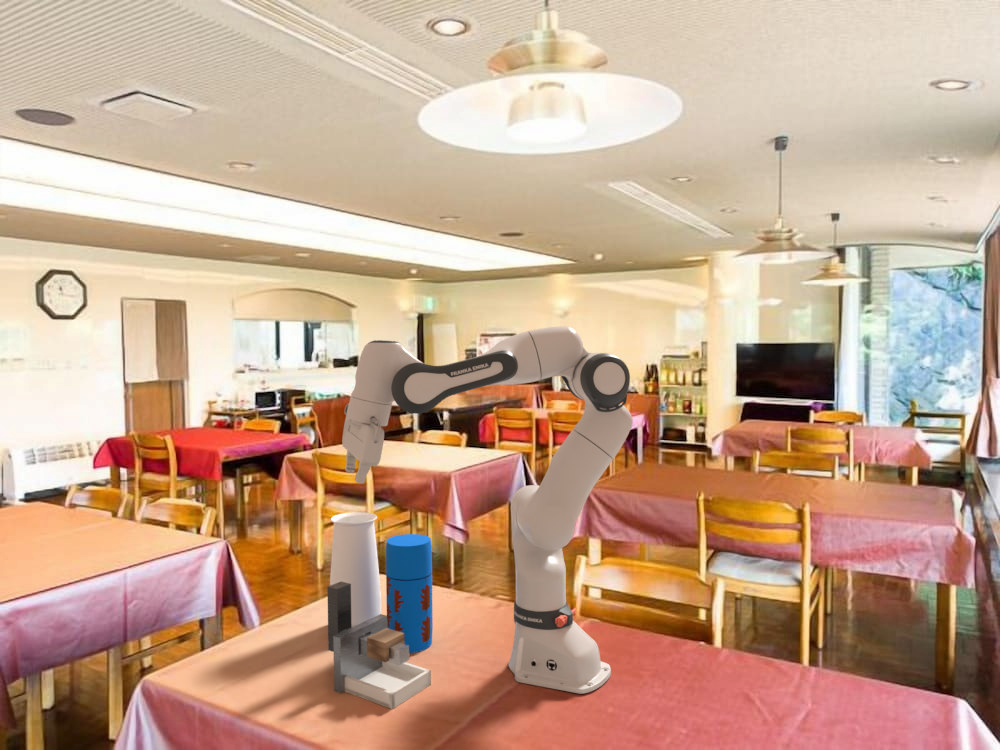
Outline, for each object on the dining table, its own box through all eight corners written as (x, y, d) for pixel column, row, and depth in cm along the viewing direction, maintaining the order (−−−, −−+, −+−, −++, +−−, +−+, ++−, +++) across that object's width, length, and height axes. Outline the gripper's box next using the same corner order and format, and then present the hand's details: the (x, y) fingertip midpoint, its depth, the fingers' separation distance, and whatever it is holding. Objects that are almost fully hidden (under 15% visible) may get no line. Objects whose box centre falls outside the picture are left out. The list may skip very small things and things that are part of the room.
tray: (430, 684, 148) (430, 670, 148) (392, 709, 138) (391, 694, 138) (384, 668, 155) (384, 655, 155) (344, 691, 145) (344, 677, 145)
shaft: (410, 665, 145) (410, 599, 145) (397, 673, 142) (397, 605, 141) (342, 643, 156) (341, 581, 156) (328, 650, 153) (327, 586, 152)
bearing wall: (388, 667, 156) (387, 615, 155) (341, 693, 144) (340, 638, 144) (381, 664, 157) (380, 614, 156) (334, 690, 145) (333, 636, 145)
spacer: (404, 652, 147) (404, 633, 147) (385, 662, 142) (385, 643, 142) (386, 646, 150) (386, 627, 150) (367, 656, 145) (367, 637, 145)
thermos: (427, 631, 175) (426, 532, 174) (437, 649, 165) (436, 543, 163) (383, 637, 171) (382, 536, 170) (390, 656, 161) (389, 548, 160)
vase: (364, 613, 187) (362, 508, 186) (391, 627, 177) (390, 517, 176) (319, 626, 178) (317, 517, 177) (346, 642, 169) (344, 526, 167)
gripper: (396, 424, 142) (381, 491, 142) (371, 409, 160) (357, 468, 160) (365, 418, 139) (350, 487, 139) (343, 404, 157) (330, 465, 158)
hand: (354, 477), depth 150 cm, fingers open, 8 cm apart
